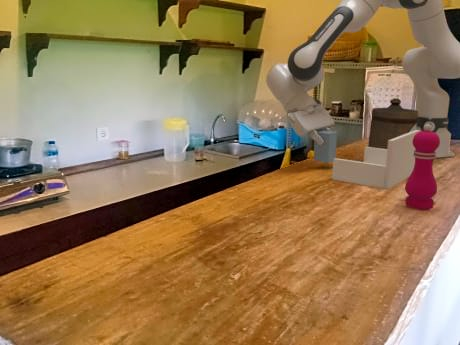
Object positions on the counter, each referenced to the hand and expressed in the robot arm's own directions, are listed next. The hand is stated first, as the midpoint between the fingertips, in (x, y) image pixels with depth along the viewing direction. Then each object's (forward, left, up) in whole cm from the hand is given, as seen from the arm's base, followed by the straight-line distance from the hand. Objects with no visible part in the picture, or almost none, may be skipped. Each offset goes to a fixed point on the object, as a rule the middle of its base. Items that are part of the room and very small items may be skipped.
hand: (327, 142), depth 148 cm
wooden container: (-22, +17, -9) cm, 29 cm away
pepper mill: (+26, +29, -9) cm, 40 cm away
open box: (+4, +16, -9) cm, 18 cm away
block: (0, -1, -6) cm, 6 cm away
